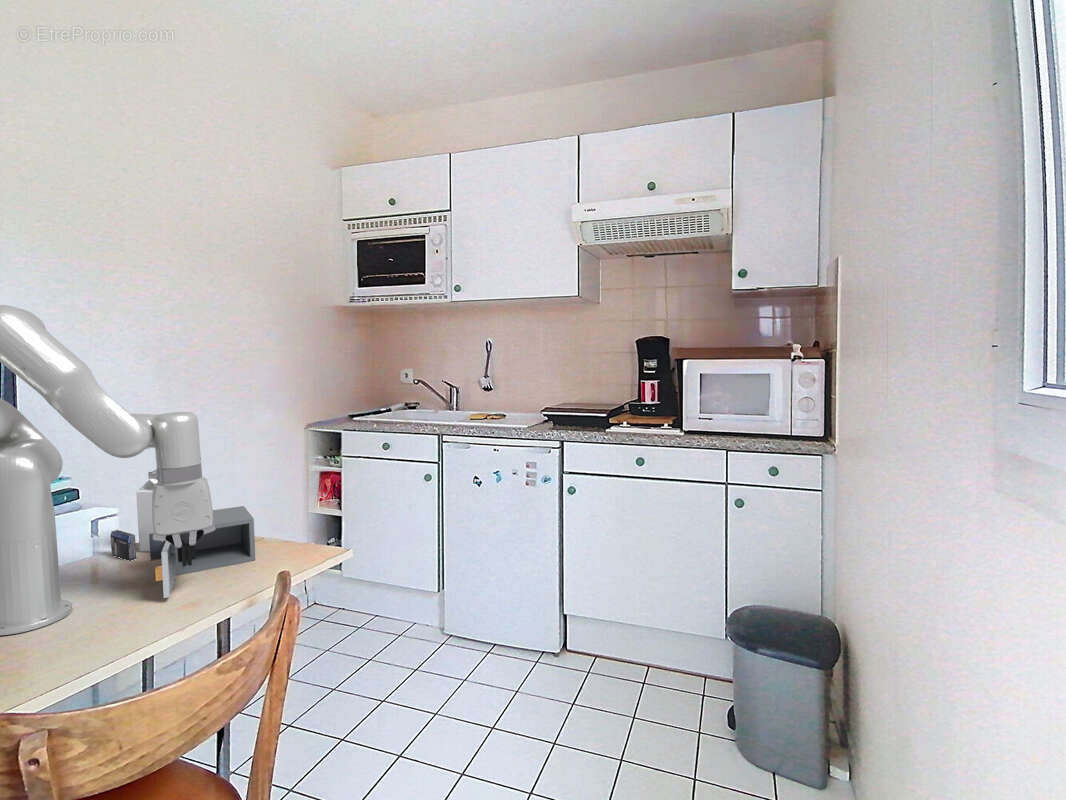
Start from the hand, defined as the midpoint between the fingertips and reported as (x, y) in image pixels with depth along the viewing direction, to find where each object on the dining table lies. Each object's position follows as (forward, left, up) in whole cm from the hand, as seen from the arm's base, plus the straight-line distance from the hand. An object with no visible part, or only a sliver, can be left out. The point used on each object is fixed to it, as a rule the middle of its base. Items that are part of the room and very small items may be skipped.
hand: (187, 563), depth 114 cm
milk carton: (-3, +36, -6) cm, 36 cm away
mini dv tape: (-11, +33, -6) cm, 35 cm away
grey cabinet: (+4, +19, -6) cm, 20 cm away
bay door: (-3, +4, -5) cm, 7 cm away
